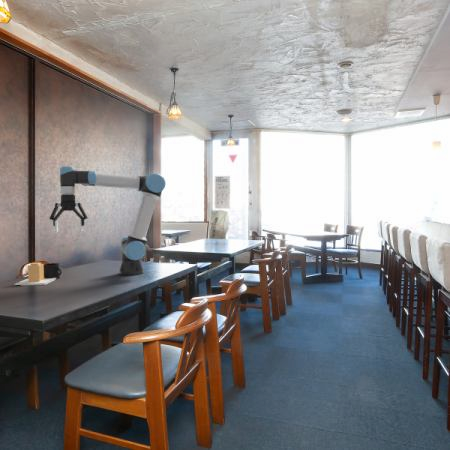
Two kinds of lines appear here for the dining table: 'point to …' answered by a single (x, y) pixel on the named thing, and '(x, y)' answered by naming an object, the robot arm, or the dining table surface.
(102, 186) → the robot arm
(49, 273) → the mug
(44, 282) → the junction board
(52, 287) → the dining table surface
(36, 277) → the tan rectangular block
